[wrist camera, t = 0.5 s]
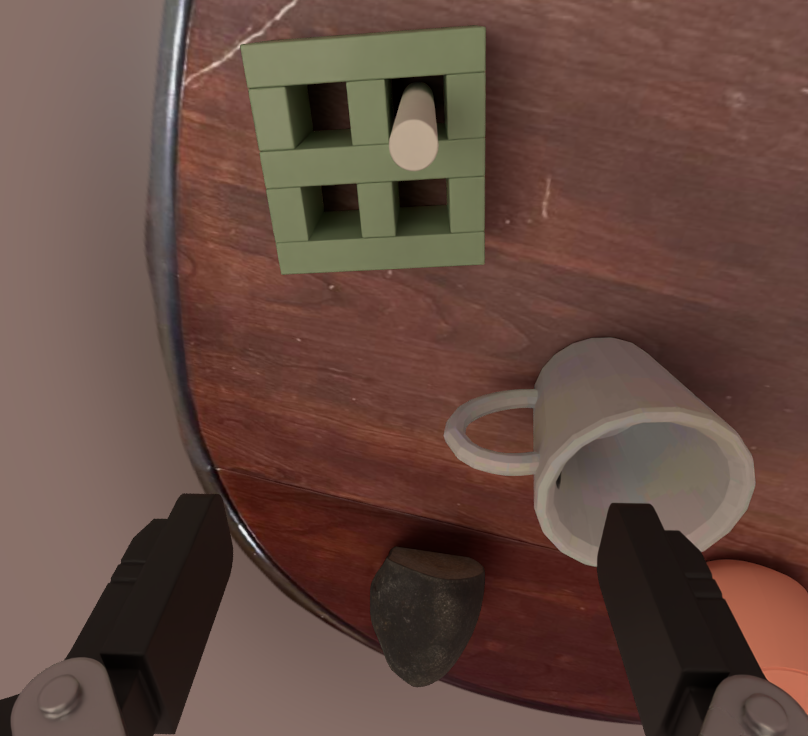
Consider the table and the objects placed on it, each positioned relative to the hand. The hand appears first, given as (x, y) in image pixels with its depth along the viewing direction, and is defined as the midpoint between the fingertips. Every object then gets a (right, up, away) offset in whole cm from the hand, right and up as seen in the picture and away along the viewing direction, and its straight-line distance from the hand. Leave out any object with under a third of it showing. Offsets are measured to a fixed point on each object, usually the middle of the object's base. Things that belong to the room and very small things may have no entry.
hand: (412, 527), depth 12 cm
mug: (+10, +2, +25) cm, 27 cm away
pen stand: (-1, +15, +18) cm, 23 cm away
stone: (+2, -11, +33) cm, 35 cm away
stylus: (+1, +17, +17) cm, 23 cm away
